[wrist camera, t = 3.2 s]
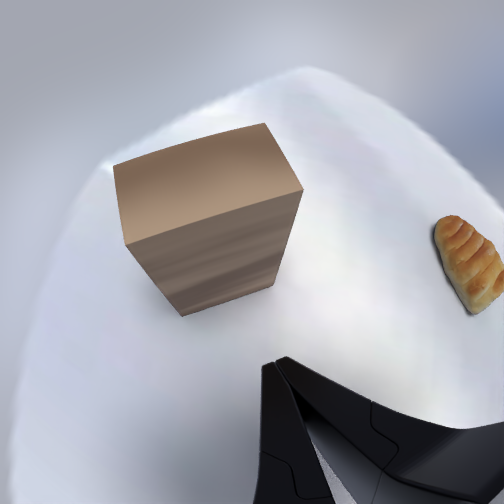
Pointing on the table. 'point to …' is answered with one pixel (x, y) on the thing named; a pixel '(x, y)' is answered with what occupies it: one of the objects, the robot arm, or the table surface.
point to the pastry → (469, 263)
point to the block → (209, 215)
